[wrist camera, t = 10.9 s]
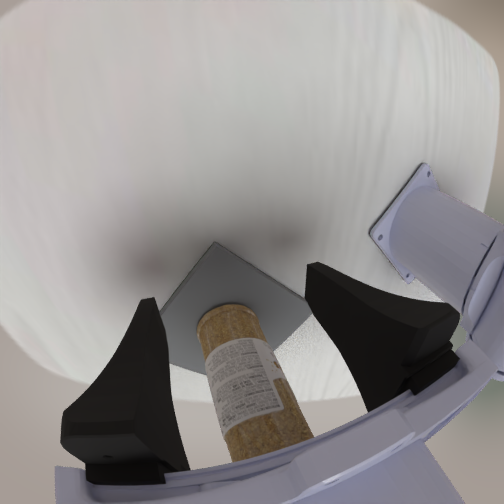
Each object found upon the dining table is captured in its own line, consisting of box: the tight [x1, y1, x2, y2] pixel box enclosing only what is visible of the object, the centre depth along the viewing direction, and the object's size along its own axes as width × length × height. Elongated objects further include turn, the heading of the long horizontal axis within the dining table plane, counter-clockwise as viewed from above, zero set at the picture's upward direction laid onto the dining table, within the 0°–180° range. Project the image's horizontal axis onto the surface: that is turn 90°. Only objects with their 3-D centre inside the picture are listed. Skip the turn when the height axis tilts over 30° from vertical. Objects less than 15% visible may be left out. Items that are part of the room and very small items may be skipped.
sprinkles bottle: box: [197, 304, 314, 462], centre depth 13 cm, size 5×5×13 cm
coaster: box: [159, 242, 312, 375], centre depth 20 cm, size 10×10×1 cm
